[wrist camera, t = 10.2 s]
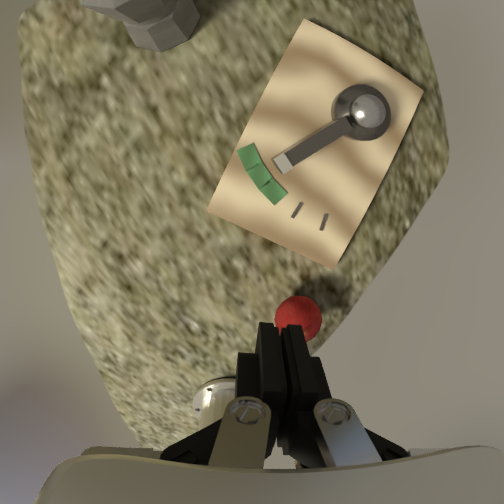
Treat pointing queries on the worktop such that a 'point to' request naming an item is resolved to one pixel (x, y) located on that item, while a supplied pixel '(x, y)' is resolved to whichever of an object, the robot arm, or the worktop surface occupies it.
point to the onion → (299, 315)
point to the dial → (342, 124)
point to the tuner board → (320, 163)
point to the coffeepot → (151, 20)
